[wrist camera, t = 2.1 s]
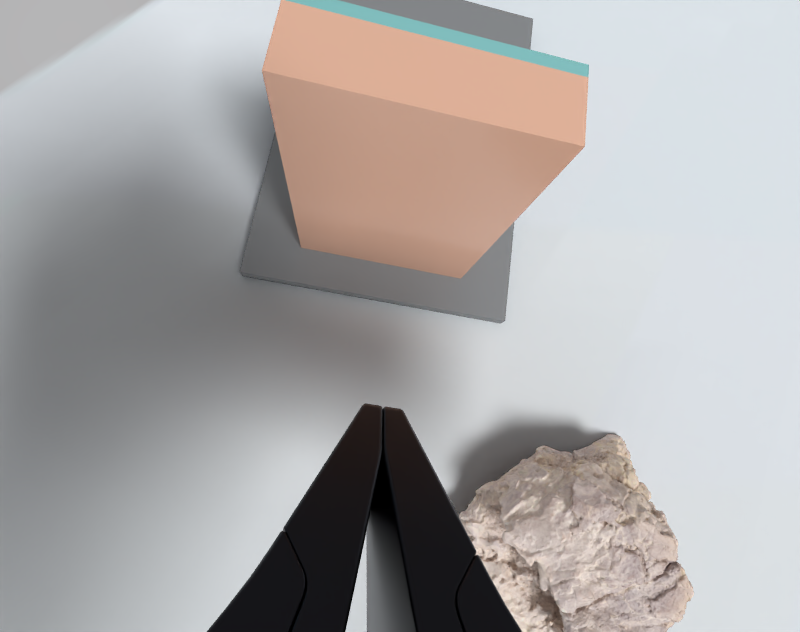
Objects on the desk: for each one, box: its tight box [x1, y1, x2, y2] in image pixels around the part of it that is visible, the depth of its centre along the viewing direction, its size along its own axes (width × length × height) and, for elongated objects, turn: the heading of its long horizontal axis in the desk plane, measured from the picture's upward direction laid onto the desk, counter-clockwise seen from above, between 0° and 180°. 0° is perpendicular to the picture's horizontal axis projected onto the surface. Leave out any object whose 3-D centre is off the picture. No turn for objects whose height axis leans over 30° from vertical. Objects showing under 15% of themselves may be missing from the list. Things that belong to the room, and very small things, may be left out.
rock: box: [459, 434, 694, 632], centre depth 17 cm, size 11×8×6 cm
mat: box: [240, 0, 533, 323], centre depth 23 cm, size 19×13×1 cm
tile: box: [262, 0, 589, 279], centre depth 16 cm, size 2×8×11 cm, turn 81°
